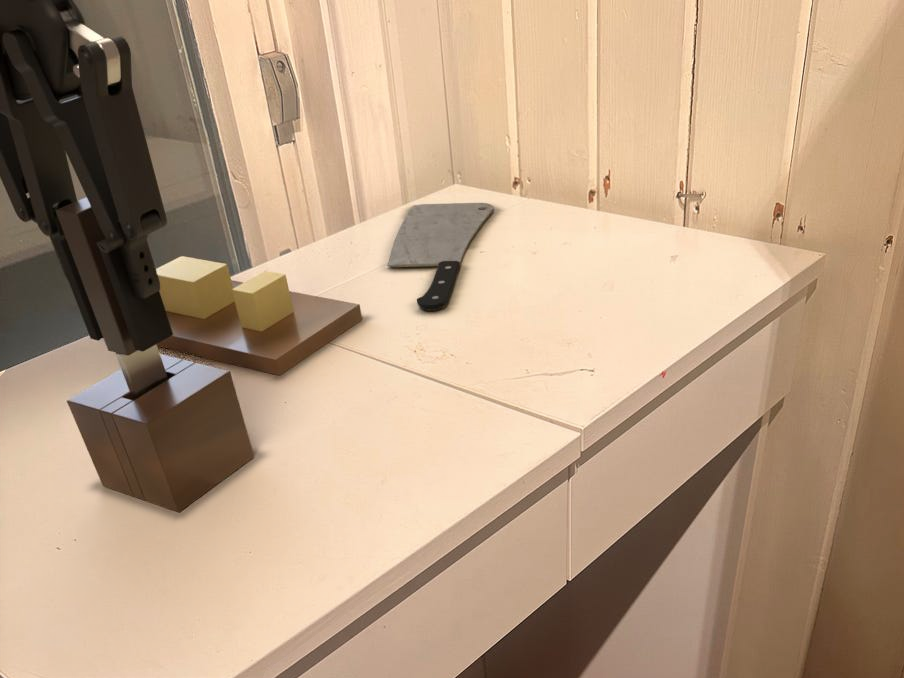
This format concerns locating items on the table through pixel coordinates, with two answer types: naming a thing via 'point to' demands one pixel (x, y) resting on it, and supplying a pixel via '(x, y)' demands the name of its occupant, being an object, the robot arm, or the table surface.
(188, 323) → the board
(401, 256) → the cleaver
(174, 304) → the butter block
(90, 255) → the knife
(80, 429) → the knife block
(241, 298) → the block
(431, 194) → the table surface
